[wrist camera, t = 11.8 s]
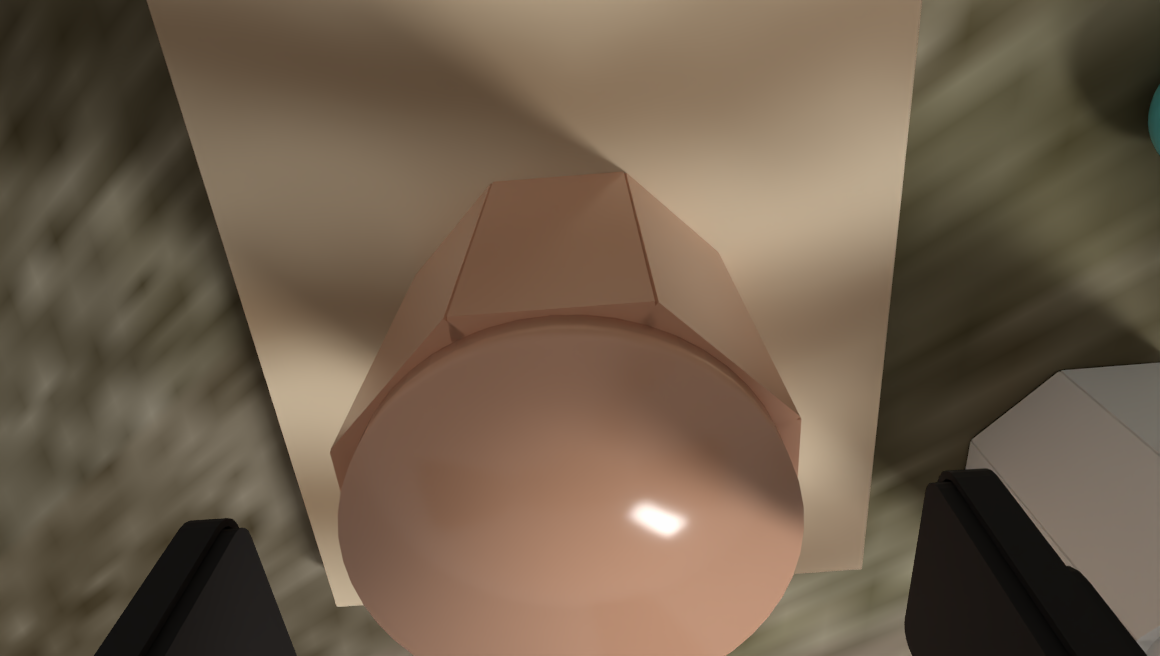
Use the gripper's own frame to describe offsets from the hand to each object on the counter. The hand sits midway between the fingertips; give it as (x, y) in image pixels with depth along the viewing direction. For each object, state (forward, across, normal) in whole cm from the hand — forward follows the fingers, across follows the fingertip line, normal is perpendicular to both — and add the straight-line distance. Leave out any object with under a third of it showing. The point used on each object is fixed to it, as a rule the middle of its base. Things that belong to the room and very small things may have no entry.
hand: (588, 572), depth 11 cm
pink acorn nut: (+9, 0, +1) cm, 9 cm away
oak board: (+10, 0, +1) cm, 10 cm away
